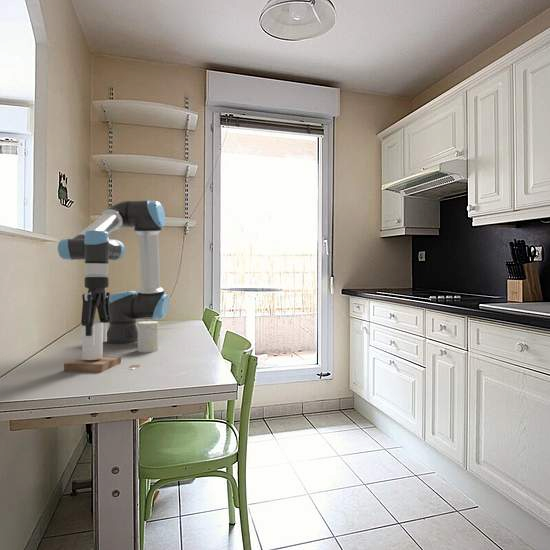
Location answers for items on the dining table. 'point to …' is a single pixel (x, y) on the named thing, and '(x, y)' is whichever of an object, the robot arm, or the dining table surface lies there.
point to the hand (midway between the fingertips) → (96, 343)
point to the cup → (148, 336)
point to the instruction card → (131, 367)
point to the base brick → (92, 364)
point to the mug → (97, 349)
